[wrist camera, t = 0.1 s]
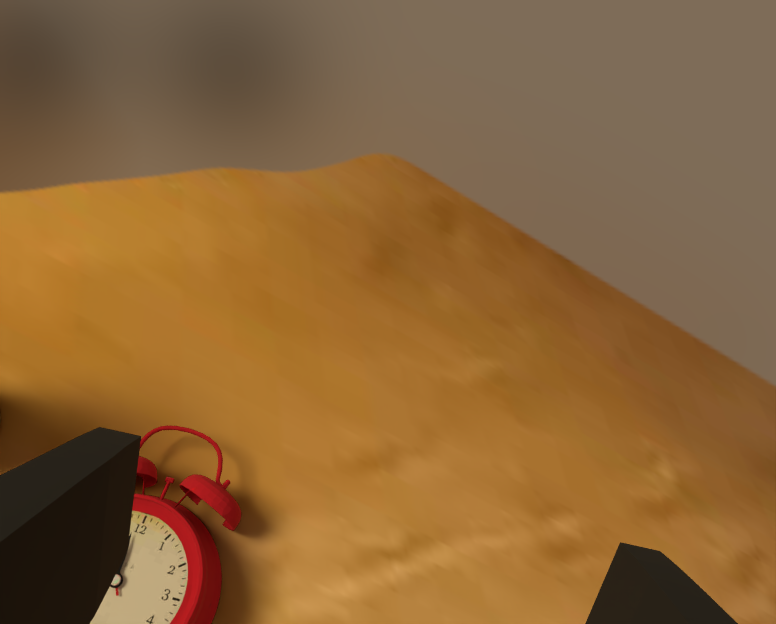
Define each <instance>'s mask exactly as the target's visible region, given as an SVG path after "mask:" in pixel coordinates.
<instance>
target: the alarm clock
mask: <svg viewBox="0 0 776 624" xmlns="http://www.w3.org/2000/svg"><path fill="white" fill-rule="evenodd" d="M162 430H179V431H184V432H188V433H191V434H194V435H197V436H199V437H201V438H203V439H205V440H207V441H208V442H209V443H211V444H212V445H213V446H214V448H215V449H216V451H217V455H218V470H217V476H216V482H214V481H213V480H211V479H209V478H207V477H205V476H202V475H195V474H194V475H191V476H188V477H187V478H186V479H185V480H184V481H183V482H182V483H181V484H180V488H181V489H182V490H183V492H184V493H185V494H186V495H185V496H184V497H183V498H182V499H181V500H180V501H179V502H178V503H175V502H173V501H171V500H168V499H165V498H164V496H165V494H166V492H167V489H168V487H169V485H170V483H172V484H173V482H174V478H171V477H168V476H167V477H166V479H165V482H167V483H166V485H165V488H164V490H163V492H162V494H161V497H156V496H150V495H144V490H145V488H147V487H150V486H153V485H154V484H156V483H157V469H156V467H155V465H154V464H153V463H152V462H151V461H150V460H148V459H146V458H143V457H141V456H139V458H138V467H137V476H140V477H141V478H142V480H143V492H142V494H134V500H133V509H132V517H131V526H130V534H129V542H128V550H127V552H126V554H125V556H124V559H123V561H122V563H121V565H120V567H119V569H118V571H117V573H116V575H115V577H114V579H113V581H112V583H111V585H110V587H109V589H108V591H107V593H106V595H105V597H104V599H103V601H102V603H101V605H100V607H99V608H98V610H97V612H96V614H95V616H94V618H93V619H92V621H91V622H90V624H211V623H212V621H213V618H214V616H215V613H216V610H217V607H218V603H219V599H220V593H221V583H222V574H221V564H220V559H219V554H218V551H217V548H216V545H215V543H214V541H213V539H212V537H211V535H210V533H209V531H208V530H207V529H206V527H205V526H204V524H203V523H202V522H201V521H200V520H199V519H198V518H197V517H196V516H195V515H194V514H193V513H192V512H190V511H189V510H188V509H186V508H185V507H184V506H182V505H180V502H181V501H182V500H183V499H184V498H185V497H186V496H188V497H189V498H190V499H191V500H192V501H193V502H195V503H196V504H197V505H198V503H199V502H200V500H204V501H205V502H206V503H207V504H209V505H210V506H211V507H212V508H213V509H214V510H216V511H217V512H218V513H219V514H220V515H221V516H222V517H223V518H224V519H225V521H224V523H223V526H225V527H226V528H228V529H229V530H232V531H234V529H235V528H236V527H237V525H238V524H239V522H240V519H241V510H240V507H239V505H238V503H237V502H236V500H235V499H234V498H233V497H232V496H231V495H230V494H229V493H228V492H227V491H226V490H225V489H226V488H227V487H228V485H229V484H230V481H229V480H226V481H225V482H224V484H223V485H222V484H221V483H220V476H221V472H222V462H223V458H222V453H221V450H220V448H219V446H218V445H217V443H216V442H214V441H213V440H212V439H211V438H210V437H208V436H206V435H204V434H203V433H200V432H198V431H195V430H192V429H189V428H184V427H179V426H161V427H158V428H155V429H153V430H151V431H150V432H149V433H147V434H146V435H145V436H144V437H143V438H142V439H141V442H140V448H141V447H142V445H143V444H144V442H145V441H146V440H147V439H148V438H149V437H150V436H151V435H153V434H154V433H156V432H159V431H162Z"/></svg>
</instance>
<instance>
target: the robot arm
mask: <svg viewBox="0 0 776 624" xmlns="http://www.w3.org/2000/svg"><path fill="white" fill-rule="evenodd" d="M140 442H141V436H137V435H133V434H128V433H124V432H119V431H115V430H110V429H106V428H101V427H99V428H96V429H94V430H92V431H90V432H87V433H85V434H83V435H81V436H79V437H77V438H75V439H73V440H71V441H69V442H67V443H65V444H63V445H61V446H59V447H57V448H55V449H53V450H51V451H49V452H47V453H45V454H43V455H41V456H39V457H37V458H35V459H33V460H31V461H29V462H27V463H25V464H23V465H21V466H19V467H16V468H14V469H12V470H10V471H8V472H6V473H4V474H2V475H0V624H90V622H91V621H92V619H93V618H94V616H95V614H96V612H97V610H98V608H99V607H100V605H101V603H102V601H103V599H104V597H105V595H106V593H107V591H108V589H109V587H110V585H111V583H112V581H113V579H114V577H115V575H116V573H117V571H118V569H119V567H120V565H121V563H122V561H123V559H124V556H125V554H126V552H127V550H128V542H129V534H130V526H131V517H132V509H133V500H134V492H135V484H136V475H137V467H138V458H139V450H140ZM586 624H738V623H736V622H735V621H734V620H733V619H732V618H731V617H730V616H729V615H728V614H727V613H726V612H725V611H724V610H723V609H722V608H721V607H720V606H719V605H718V604H717V603H716V602H715V601H714V600H713V599H712V598H711V597H710V596H709V595H708V594H707V593H706V592H705V591H704V590H702V589H701V588H700V587H699V586H698V585H697V584H696V583H695V582H694V581H693V580H692V579H691V578H690V577H689V576H688V575H687V574H686V573H684V572H683V571H682V570H681V569H680V568H679V567H678V566H677V565H676V564H674V563H673V562H672V561H671V560H670V559H669V558H667V557H666V556H665V555H664V554H663V553H661V552H660V551H657V550H652V549H648V548H643V547H639V546H634V545H630V544H625V543H621V542H620V544H619V547H618V549H617V551H616V554H615V556H614V558H613V561H612V563H611V565H610V568H609V570H608V572H607V575H606V577H605V579H604V582H603V584H602V586H601V589H600V591H599V593H598V596H597V598H596V600H595V603H594V605H593V607H592V610H591V612H590V614H589V617H588V619H587V621H586Z"/></svg>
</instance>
